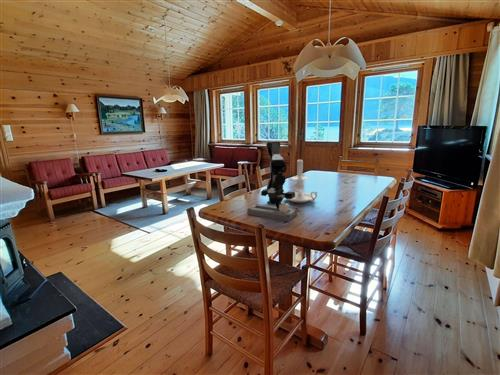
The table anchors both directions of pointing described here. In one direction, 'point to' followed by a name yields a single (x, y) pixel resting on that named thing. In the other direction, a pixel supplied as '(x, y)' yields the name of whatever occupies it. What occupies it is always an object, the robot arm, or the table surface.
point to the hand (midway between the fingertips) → (277, 208)
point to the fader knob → (284, 207)
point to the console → (271, 212)
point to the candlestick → (301, 186)
